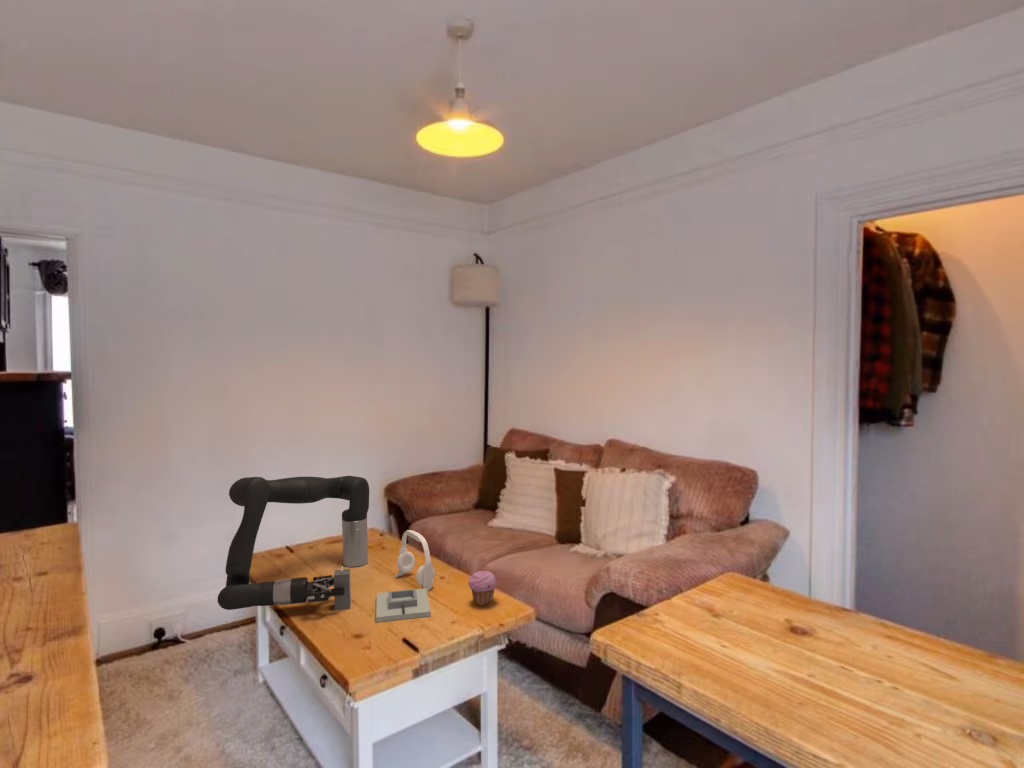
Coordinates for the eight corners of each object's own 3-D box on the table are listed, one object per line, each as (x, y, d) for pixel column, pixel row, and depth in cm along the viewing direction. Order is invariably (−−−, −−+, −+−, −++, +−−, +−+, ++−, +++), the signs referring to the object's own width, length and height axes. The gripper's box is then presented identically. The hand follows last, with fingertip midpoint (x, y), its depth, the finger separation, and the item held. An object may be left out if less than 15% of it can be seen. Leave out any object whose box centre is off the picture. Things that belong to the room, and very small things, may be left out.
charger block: (335, 604, 181) (334, 565, 180) (350, 602, 182) (349, 564, 181) (334, 610, 176) (333, 571, 176) (350, 608, 177) (349, 569, 177)
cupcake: (464, 601, 181) (463, 570, 181) (486, 594, 187) (486, 564, 186) (479, 611, 174) (478, 579, 174) (502, 603, 179) (501, 572, 179)
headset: (438, 589, 191) (437, 537, 191) (419, 595, 187) (418, 541, 186) (411, 572, 207) (410, 523, 207) (393, 576, 203) (392, 527, 203)
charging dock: (376, 597, 185) (376, 587, 185) (426, 592, 189) (426, 582, 189) (376, 622, 168) (375, 610, 168) (430, 616, 171) (430, 604, 171)
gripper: (286, 588, 168) (343, 582, 172) (293, 570, 182) (346, 566, 186) (287, 613, 169) (344, 607, 172) (294, 593, 183) (347, 588, 186)
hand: (345, 585), depth 179 cm, fingers open, 8 cm apart
